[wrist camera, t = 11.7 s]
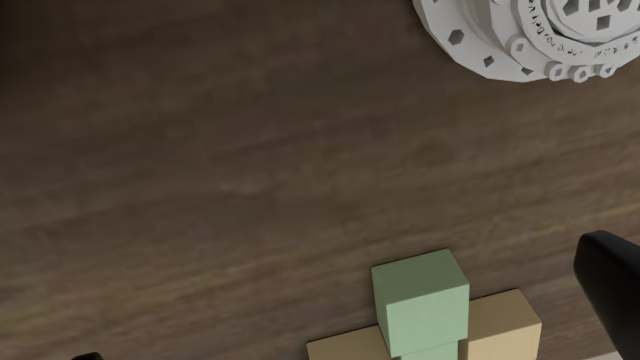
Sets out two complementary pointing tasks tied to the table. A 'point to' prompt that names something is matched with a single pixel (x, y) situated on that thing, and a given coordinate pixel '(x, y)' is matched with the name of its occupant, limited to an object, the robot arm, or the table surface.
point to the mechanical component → (535, 36)
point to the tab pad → (422, 306)
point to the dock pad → (473, 352)
